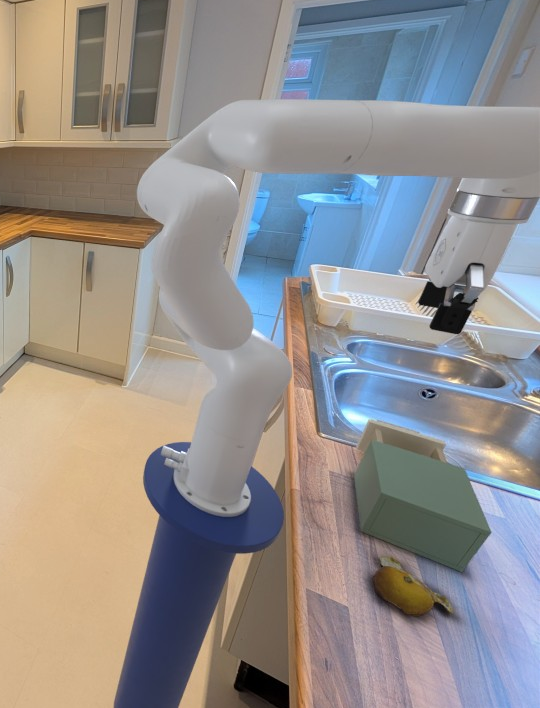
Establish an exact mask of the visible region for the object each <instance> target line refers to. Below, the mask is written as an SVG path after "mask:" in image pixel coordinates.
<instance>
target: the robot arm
mask: <svg viewBox="0 0 540 708" xmlns="http://www.w3.org/2000/svg"><path fill="white" fill-rule="evenodd" d="M231 168H236V169H240V170H245V171H250V172H255V173H260V174H272V175H273V174H275V175H278V174H279V175H280V174H282V175H283V174H285V175H292V174H293V175H301V174H303V175H306V174H307V175H308V174H309V175H310V174H312V175H314V174H315V175H316V174H318V175H321V174H322V175H323V174H326V175H364V176H374V177H375V176H377V177H427V178H430V177H431V178H448V179H450V178H452V179H461V180H460V183H459V185H458V187H457V190H456V192H455V194H454V196H453V199H452V201H451V203H450V205H449V207H448V210H447V212H446V213H447V214H448V215H449V216H450V218H449V219H448V221H447V223H446V225H445V227H444V228H443V230H442V232H441V234H440V236H439V237H438V240H437V242H436V244H435V246H434V248H433V250H432V252H431V253H430V255H429V258H428V260H427V261H426V264H425V268H424V270H425V273H426V274H427V277H428V280H427V281H426V283H425V286H424V287H423V290H422V292H421V295H420V296H419V298H418V301H417V303H418V305H419V306H423V307H429V308H435V309H436V311H435V312H434V315H433V317H432V319H431V321H430V323H429V329H430V330H432V331H436V332H443V333H446V334H447V333H448V334H451V335H452V334H453V335H461V333H462V331H463V329H464V328H465V325H466V324H467V322H468V320H469V317H470V315H472V312H473V311H474V309H475V306H476V303H478V300H479V296H480V295H481V294H482V293H483V292H484V291H485V290H486V289H487V288H488V286H489V284H490V283H491V281H492V279H493V277H494V275H495V273H496V272H497V269H498V268H499V265H500V264H501V261H502V259H503V257H504V255H505V253H506V250H507V248H508V246H509V243H510V241H511V239H512V236H513V233H514V231H515V228H516V226H517V225H518V224H519V225H521V224H522V225H523V224H527V222H528V221H529V220H530V217H531V216H532V213H533V212H534V210H535V208H536V206H537V204H538V203H539V200H540V106H477V105H451V104H450V105H449V104H437V103H436V104H434V103H424V102H414V101H401V100H400V101H399V100H377V99H376V100H375V99H374V100H373V99H372V100H370V99H367V100H364V99H362V100H361V99H303V98H302V99H300V98H299V99H298V98H295V99H294V98H291V99H290V98H288V99H287V98H285V99H284V98H276V99H275V98H273V99H240V100H236V101H233V102H231V103H228V104H226V105H225V106H223V107H221V108H220V109H218V110H217V111H214V113H211V115H209V116H208V117H207V118H206V119H205V120H203V121H202V122H201V123H200V124H199V125H197V126H196V127H195V128H193V129H192V130H191V131H189V133H187V134H186V135H185V136H184V137H182V138H181V139H180V140H179V141H178V142H177V143H175V144H174V145H173V146H172V147H170V148H169V149H168V150H166V152H164V153H163V154H162V155H160V156H159V157H157V159H156V160H155V161H153V163H152V164H150V166H149V167H148V168H147V169H146V170H145V171H144V173H143V174H142V176H141V177H140V179H139V182H138V184H137V188H136V199H137V202H138V205H139V207H140V208H141V211H143V213H145V214H146V215H147V216H148V217H149V218H151V219H153V220H155V221H156V222H158V223H159V224H162V225H163V227H162V229H161V231H160V233H159V236H158V238H157V240H156V243H155V246H154V250H153V253H152V259H151V271H152V274H153V277H154V280H155V282H156V284H157V285H158V287H159V289H158V302H159V305H160V308H161V310H162V312H163V314H164V315H165V316H166V318H167V320H168V321H169V322H170V324H171V325H172V326H173V328H174V329H175V330H176V332H177V333H178V334H179V335H180V337H181V339H183V341H184V342H185V344H186V345H187V346H188V348H189V349H190V350H191V351H192V352H193V353H194V355H195V356H196V357H197V358H198V359H199V361H201V362H202V364H204V365H205V366H206V367H207V368H208V370H210V372H211V373H212V375H214V377H215V379H216V384H215V386H214V387H213V388H211V389H210V390H208V391H207V392H206V393H205V395H204V396H203V398H202V400H201V403H200V408H199V411H198V415H197V419H196V423H195V427H194V431H193V435H192V439H191V441H190V442H191V446H190V448H189V449H188V451H187V453H185V452H183V451H181V453H180V452H177V451H175V450H173V449H171V448H169V447H166V446H164V445H162V446H163V449H162V452H161V455H162V456H164V457H167V458H166V460H165V464H164V465H166V466H169V467H172V468H174V469H175V470H174V474H173V478H174V483H175V485H176V487H177V489H178V491H179V492H180V494H181V495H182V496H183V497H184V498H185V499H186V500H187V501H188V502H190V503H191V504H192V505H194V506H195V507H197V508H199V509H200V510H202V511H205V512H207V513H210V514H213V515H216V516H222V517H233V516H238V515H240V514H242V513H244V512H245V511H246V510H247V508H248V507H249V504H250V501H251V494H250V490H249V488H248V486H247V484H246V483H245V482H246V480H247V477H248V474H249V471H250V468H251V466H252V465H253V462H254V459H255V457H256V455H257V452H258V448H259V446H260V443H261V440H262V438H263V434H264V431H265V429H266V425H267V422H268V420H269V417H270V415H271V414H272V411H273V410H274V407H275V405H276V404H277V402H278V400H279V399H280V398H281V396H282V395H283V394H284V392H285V391H286V389H287V388H288V386H289V385H290V382H291V380H292V377H293V366H292V363H291V361H290V358H289V357H288V356H287V355H286V353H285V352H284V350H282V348H281V347H280V346H278V345H277V343H275V342H274V341H272V340H271V339H270V338H268V337H267V336H266V335H264V334H263V333H262V332H260V331H259V330H258V329H256V328H254V324H255V323H254V321H255V320H254V316H253V311H252V309H251V307H250V304H249V303H248V301H247V300H246V298H245V297H244V295H243V294H242V292H241V291H240V289H239V288H238V286H237V285H236V283H235V281H234V280H233V278H232V277H231V275H230V273H229V272H228V270H227V268H226V266H225V264H224V262H223V260H222V257H221V250H222V248H223V244H224V242H225V239H226V238H227V236H228V234H229V233H230V231H231V229H232V227H233V225H234V223H235V222H236V219H237V217H238V213H239V209H240V193H239V191H238V188H237V186H236V184H235V182H233V181H232V179H231V178H229V177H228V176H227V175H225V174H226V172H229V170H230V169H231ZM455 293H457V294H456V295H455ZM168 458H169V459H168ZM171 459H173V460H175V461H178V463H177V462H175V461H173V460H171Z"/></svg>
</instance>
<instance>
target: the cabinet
mask: <svg viewBox="0 0 540 708" xmlns="http://www.w3.org/2000/svg"><path fill="white" fill-rule="evenodd" d="M353 479H354V487H355V496H356V504H357V513H358V522H359V528H360V529H359V530H360V532H361V533H363V534H367V535H369V536H372V537H374V538H376V539H378V540H381V541H384V542H386V543H389V544H392V545H394V546H396V547H398V548H401V549H403V550H406V551H408V552H411V553H414V554H416V555H418V556H420V557H423V558H426V559H428V560H430V561H433V562H435V563H438V564H441V565H443V566H446V567H448V568H451V569H453V570H456V571H458V572H460V573H463V572H464V570H465V569H466V567H467V566H468V565H469V563H470V562H471V561H472V559H473V558H474V557H475V555H476V554H477V553H478V551H480V549H481V547H482V546H483V545H484V543H485V542H486V541H487V539H488V538H489V537H490V535H492V530H491V527H490V525H489V523H488V520H487V518H486V516H485V513H484V510H483V508H482V506H481V504H480V502H479V498H478V497H477V495H476V492H475V490H474V488H473V485H472V483H471V480H470V478H469V476H468V473H467V471H466V469H465V467H461V466H458V465H455V464H452V463H449V462H447V463H446V462H442V461H439V460H436V459H433V458H430V457H426V456H423V455H420V454H417V453H414V452H411V451H407V450H404V449H401V448H398V447H395V446H391V445H388V444H385V443H382V442H379V441H376V440H371V442H370V444H369V446H368V448H367V450H366V452H365V454H364V456H363V455H362V458H361V459H360V461H359V464H358V466H357V468H356V470H355V472H354V474H353Z"/></svg>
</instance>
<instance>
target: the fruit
mask: <svg viewBox="0 0 540 708" xmlns="http://www.w3.org/2000/svg"><path fill="white" fill-rule="evenodd" d="M379 563H380V565H381V566H382V567H380V568H379V569H378V570H377V571H376V572H375V573H374V575H373V577H372V579H373V581H372V582H373V588H374V591H375V593H376V594H378V595H379V596H380V597H381V598H382V599H384V600H385V601H387V602H390V603H391V604H393V605H395V607H397V608H398V609H400V610H402V611H403V613H404V614H406V615H413V616H415V617H420V616H421V615H424V614H426V613H428V612H430V611H431V609H432V608H433V607H434V604H435V603H438V604H441V605H442V606H443V607H444V608H445V610H446V612H447V613H449V614H451V615H452V614H454V613H455V611H454V608H453V606H452V605H451V603H450V600H448V599H447V597H445V596H444V595H442V594H441V595H440V593H437V592H435V591H433V590H432V589H430V588H429V587H428V585H427V584H426V583H425V584H424V582H422V581H421V580H420V579H419V578H417V577H415V576H414V575H413V574H412V573H410V572H408V571H406V570H404V568H403V567H402V566H401V563H400V562H399V561H398V560H396V558H394V557H392V556H388V555H381V556H380V557H379Z"/></svg>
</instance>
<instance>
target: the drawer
mask: <svg viewBox="0 0 540 708" xmlns="http://www.w3.org/2000/svg"><path fill="white" fill-rule="evenodd" d="M371 440H376V441H379V442H382V443H385V444H388V445H391V446H395V447H398V448H401V449H404V450H407V451H411V452H414V453H417V454H420V455H423V456H426V457H430V458H433V459H436V460H439V461H442V462H446V463H448V460H447V458H446V456H445V455H446V454H445V453H444V449H445V448H446V446H447V443H446V441H445V440H443V439H440V438H436V437H434V436H430V435H426V434H423V433H420V431H419V430H415V429H412V428H408V427H405V426H401V425H398V424H394V423H391V422H388V421H385V420H381V419H376V420H375V419H372V418H368V420H367V422H366V425H365V426H364V428H363V430H362V433H361V435H360V437H359V439H358V441H357V442H356V445H355V446H356V447H355V448H356V450H357V451H361V452H362V457H363V456H364V454H365V452H366V450H367V448H368V446H369V444H370V442H371Z"/></svg>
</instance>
